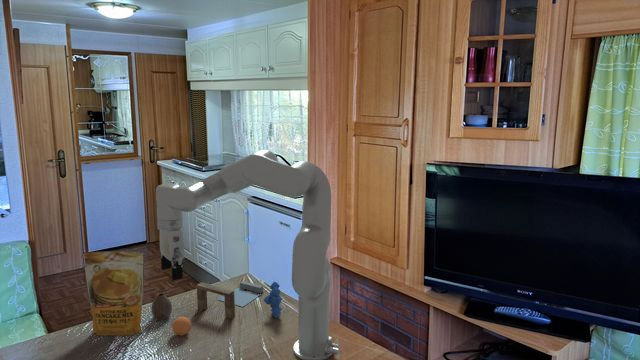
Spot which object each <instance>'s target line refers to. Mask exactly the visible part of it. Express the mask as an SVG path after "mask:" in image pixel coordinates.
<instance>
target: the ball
mask: <svg viewBox="0 0 640 360" xmlns="http://www.w3.org/2000/svg"><path fill="white" fill-rule="evenodd" d="M171 325H172V326H171V328H172V329H171V330H172V331H173V333H174V334H175V335H177V336H185V335H186V334H188V333H189V332H190V330H191V328H192V322H191V319H189V318H188V317H186V316H178V317H177V318H175V319H174V321H173V322H172V324H171Z"/></svg>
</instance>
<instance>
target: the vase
mask: <svg viewBox="0 0 640 360" xmlns="http://www.w3.org/2000/svg"><path fill="white" fill-rule="evenodd" d="M150 308H151V314H152V316H153V317H154V318H155V320H158V321H162V320H167V318H169V317H170V316H171V313H172V312H173V311H172V310H173V305H172V302H171V300H170V299H169V298H168V297H167V296H166V294H165V293H163V292H162V293H161V292H160V293H157V295H156V297H155V299H154V300H153V301H152V304H151V307H150Z"/></svg>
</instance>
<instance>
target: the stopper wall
mask: <svg viewBox="0 0 640 360" xmlns="http://www.w3.org/2000/svg"><path fill="white" fill-rule="evenodd" d="M239 288H242V289H243V290H244V289H247V291H248V290H251V292H252V291H254V292H257V293H258V294H259V293H260V294H261V292H262V293H263V292H264V285H260V284H256V283H253V282H250V281H245V280H242V281H241V282H239Z"/></svg>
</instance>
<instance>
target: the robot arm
mask: <svg viewBox="0 0 640 360" xmlns="http://www.w3.org/2000/svg"><path fill="white" fill-rule="evenodd" d="M254 185H255V186H257V187H259V188H262V189H265V190H268V191H271V192H274V193H277V194H278V195H282V196H285V197H288V198H289V197H290V198H299V197H301V196H303V201H302V209H301V210H302V212H301V213H302V214H301V215H302V216H301V217H302V218H301V227H300V229H299V232H298V233H297V234H296V236H295V238H294V240H293V246H292V255H291V256H292V259H291V260H292V263H291V285H292V288H293V290H294V292H295V293H296V294H297V295H298V310H297V311H298V331H297V332H298V340H296V341H295V343H294V344H293V353H294V355H295V356H296V357H297V358H298V359H301V360H327V359H328V358H330V357H331V356H332V355H335V356H338V355H339V354H340V344H338V343H334V342H333V339H332V338H333V337H332V336H330V293H331V290H330V289H331V279H332V278H331V277H332V276H331V274H332V268H331V263H330V261H329V259H328V258H327V251H328V248H329V247H330V244H331V239H332V238H331V236H332V235H331V234H332V233H331V228H332V227H331V226H332V225H331V224H332V189H331V184H330V181H329V178H328V176H327V175H326V173H325V172H324V171H323V170H322V169H321V168H320V167H319V166H318V165H316V164H314V163H312V162H309V161H307V160H306V161H305V160H302V161H297V162H295V163H293V164H291V165H287V164H285V163H281V162H279V159H278V157H277V156H276V155H275V153H274V152H272V151H271V150H268V149H267V150H266V149H260V150H258V151H256V152H253V153H251V154H249V155H246V156H245V157H242V158H241V159H238V160H236V161H234V162H232V163H229V164H227V165H226V166H224V167H222V168H221V169H220V170H219V171H217V172H215V173H213V174H211V175H209V176H207V177H204V178H202V179H200V180H197V181H196V182H193V183H191V184H189V185H187V186H184V187H181V185H179V184H178V183H170V182H169V183H163V184H159V185H157V187H156V189H155V200H156V203H155V204H156V219H157V230H158V231H159V251H160V263H161V270H162V271H165V270H168V269H171V279H172V281H177V280H182V279H183V277H184V276H183V274H184V273H183V267H184V266H183V263H184V262H183V260H184V259H185V241H184V235H183V230H182V228H183V213H184V212H185V213H191V212H194V211H196V210H197V209H199V208H201V207H203V206H204V205H206V204H208V203H210V202H212V201H214V200H216V199H219V198H221V197H222V196H225V195H228V194H236V193H238V192H239V193H240V192H241V191H243V190H245V189H248V188H250V187H252V186H254Z"/></svg>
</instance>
